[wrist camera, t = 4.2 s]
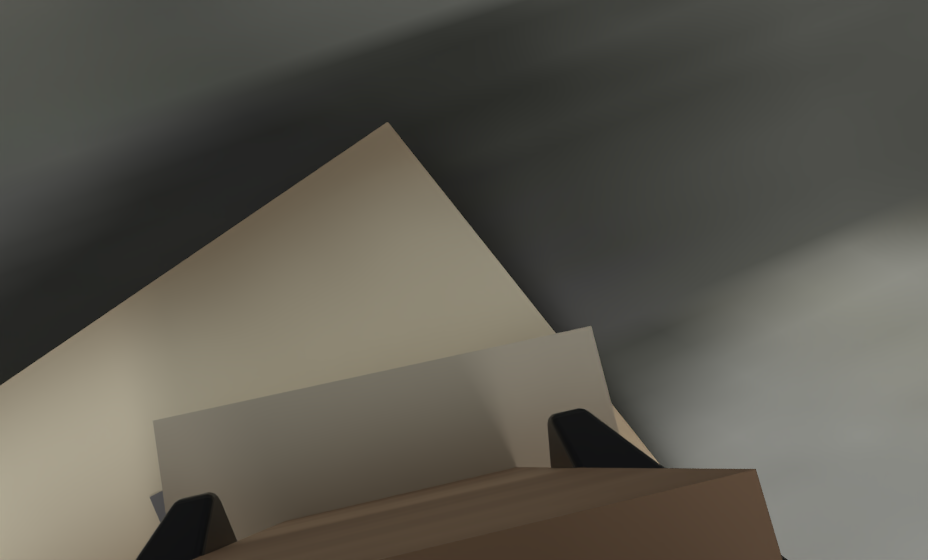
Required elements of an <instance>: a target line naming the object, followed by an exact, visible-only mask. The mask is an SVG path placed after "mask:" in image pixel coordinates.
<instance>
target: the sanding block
mask: <svg viewBox="0 0 928 560" xmlns="http://www.w3.org/2000/svg"><path fill="white" fill-rule="evenodd" d="M577 408H582V409H585V410H587V411H589V412H590V413H592V414H593V415H594V416H596V417H597V418H598V419H600V420H601V421H602V422H604V423H605V424H606V425H608V426H609V427H610V428H612V429H613V430H614V431H616V432H617V433H618V434H619V430H618V427H617V423H616V419H615V415H614V411H613V407H612V404H611V400H610V396H609V392H608V388H607V385H606V381H605V377H604V373H603V369H602V365H601V362H600V358H599V354H598V350H597V346H596V342H595V339H594V335H593V331H592V327H591V326H589V327H584V328H580V329H575V330H570V331H566V332H561V333H556V334H552V335H547V336H543V337H538V338H533V339H529V340H524V341H519V342H515V343H510V344H505V345H501V346H496V347H492V348H487V349H482V350H478V351H473V352H468V353H464V354H459V355H455V356H450V357H445V358H441V359H436V360H431V361H427V362H422V363H418V364H413V365H408V366H404V367H399V368H394V369H390V370H385V371H381V372H376V373H371V374H367V375H362V376H357V377H353V378H348V379H344V380H339V381H334V382H330V383H325V384H320V385H316V386H311V387H307V388H302V389H297V390H293V391H288V392H283V393H279V394H274V395H270V396H265V397H260V398H256V399H251V400H246V401H242V402H237V403H233V404H228V405H223V406H219V407H214V408H209V409H205V410H200V411H196V412H191V413H186V414H182V415H177V416H172V417H168V418H163V419H159V420H154V421H153V426H154V433H155V440H156V447H157V454H158V462H159V469H160V476H161V483H162V490H163V498H164V505H165V512H166V513H167V512H168V511H169V509H170V508H171V506H172V505H173V504H174V503H175V502H176V501H177V500H179V499H181V498H185V497H190V496H194V495H198V494H203V493H207V492H212V493H215V494H216V495H217V496H218V497H219V498H220V500H221V502H222V505H223V507H224V510H225V512H226V515H227V517H228V519H229V522H230V524H231V527H232V529H233V532H234V534H235V537H236V539H237V542H234V543H232V544H230V545H227V546H225V547H222V548H220V549H217V550H215V551H213V552H210V553H208V554H205V555H203V556H200V557H197V558H195V559H193V560H782V557H781V553H780V550H779V546H778V543H777V540H776V536H775V533H774V529H773V526H772V523H771V519H770V516H769V512H768V509H767V506H766V502H765V499H764V495H763V492H762V489H761V485H760V482H759V478H758V475H757V472H756V469H677V468H551V463H550V451H549V439H548V425H547V423H548V418H549V417H550V416H551V415H552V414H555V413H559V412H564V411H568V410H572V409H577Z"/></svg>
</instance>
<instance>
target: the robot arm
mask: <svg viewBox="0 0 928 560" xmlns="http://www.w3.org/2000/svg"><path fill="white" fill-rule="evenodd" d="M547 425H548V439H549V451H550V463H551V468H664V467H663V466H661V465H660V464H659V463H657V462H656V461H655V460H653V459H652V458H650V457H649V456H648V455H646V454H645V453H644V452H642V451H641V450H640V449H638V448H637V447H636V446H634V445H633V444H632V443H630V442H629V441H628V440H626V439H625V438H624V437H622V436H621V435H620V434H618V433H617V432H616V431H614V430H613V429H612V428H610V427H609V426H608V425H606V424H605V423H604V422H602V421H601V420H600V419H598V418H597V417H596V416H594V415H593V414H592V413H590V412H589V411H587V410H585V409H582V408H577V409H572V410H568V411H564V412H559V413H555V414H552V415H551V416H550V417H549V418H548V423H547ZM234 542H237V539H236V537H235V534H234V532H233V529H232V527H231V524H230V522H229V519H228V517H227V515H226V512H225V510H224V507H223V505H222V502H221V500H220V498H219V497H218V496H217V495H216V494H215V493H212V492H207V493H203V494H198V495H194V496H190V497H185V498H181V499H179V500H177V501H176V502H175V503H174V504H173V505H172V506H171V508H170V509H169V511H168V512H167V513H166V515H165V516H164V518H163V519H162V521H161V522H160V524H159V525H158V527H157V528H156V530H155V531H154V533H153V534H152V536H151V537H150V539H149V540H148V542H147V543H146V545H145V546H144V548H143V549H142V551H141V552H140V554H139V555H138V556H137V558H136V559H135V560H193V559H195V558H197V557H200V556H203V555H205V554H208V553H210V552H213V551H215V550H217V549H220V548H222V547H225V546H227V545H230V544H232V543H234ZM781 557H782V560H787V559H786V558H784V557H783V556H782V555H781Z"/></svg>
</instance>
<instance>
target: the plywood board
mask: <svg viewBox="0 0 928 560" xmlns="http://www.w3.org/2000/svg"><path fill="white" fill-rule="evenodd" d="M552 334H556V333H555V332H554V330H553V329H552V328H551V327H550V325H549V324H548V323H547V322H546V320H545V319H544V318H543V317H542V315H541V314H540V313H539V312H538V310H537V309H536V308H535V307H534V305H533V304H532V303H531V302H530V300H529V299H528V298H527V296H526V295H525V294H524V293H523V291H522V290H521V289H520V288H519V286H518V285H517V284H516V283H515V281H514V280H513V279H512V278H511V276H510V275H509V274H508V273H507V271H506V270H505V269H504V268H503V266H502V265H501V264H500V262H499V261H498V260H497V259H496V257H495V256H494V255H493V254H492V252H491V251H490V250H489V249H488V247H487V246H486V245H485V244H484V242H483V241H482V240H481V239H480V237H479V236H478V235H477V234H476V232H475V231H474V230H473V229H472V227H471V226H470V225H469V223H468V222H467V221H466V220H465V218H464V217H463V216H462V215H461V213H460V212H459V211H458V210H457V208H456V207H455V206H454V205H453V203H452V202H451V201H450V200H449V198H448V197H447V196H446V195H445V193H444V192H443V191H442V189H441V188H440V187H439V186H438V184H437V183H436V182H435V181H434V179H433V178H432V177H431V176H430V174H429V173H428V172H427V171H426V169H425V168H424V167H423V166H422V164H421V163H420V162H419V161H418V159H417V158H416V157H415V155H414V154H413V153H412V152H411V150H410V149H409V148H408V147H407V145H406V144H405V143H404V142H403V140H402V139H401V138H400V137H399V135H398V134H397V133H396V132H395V130H394V129H393V128H392V127H391V125H390V124H389V123H388V122H387V123H385V124H384V125H382V126H381V127H379V128H378V129H376V130H375V131H373V132H372V133H370V134H369V135H367V136H366V137H365V138H363V139H362V140H360V141H359V142H357V143H356V144H354V145H353V146H351V147H350V148H348V149H347V150H345V151H344V152H343V153H341V154H340V155H338V156H337V157H335V158H334V159H332V160H331V161H329V162H328V163H326V164H325V165H323V166H322V167H320V168H319V169H318V170H316V171H315V172H313V173H312V174H310V175H309V176H307V177H306V178H304V179H303V180H301V181H300V182H298V183H297V184H296V185H294V186H293V187H291V188H290V189H288V190H287V191H285V192H284V193H282V194H281V195H279V196H278V197H276V198H275V199H273V200H272V201H271V202H269V203H268V204H266V205H265V206H263V207H262V208H260V209H259V210H257V211H256V212H254V213H253V214H251V215H250V216H249V217H247V218H246V219H244V220H243V221H241V222H240V223H238V224H237V225H235V226H234V227H232V228H231V229H229V230H228V231H226V232H225V233H224V234H222V235H221V236H219V237H218V238H216V239H215V240H213V241H212V242H210V243H209V244H207V245H206V246H204V247H203V248H202V249H200V250H199V251H197V252H196V253H194V254H193V255H191V256H190V257H188V258H187V259H185V260H184V261H182V262H181V263H179V264H178V265H177V266H175V267H174V268H172V269H171V270H169V271H168V272H166V273H165V274H163V275H162V276H160V277H159V278H157V279H156V280H155V281H153V282H152V283H150V284H149V285H147V286H146V287H144V288H143V289H141V290H140V291H138V292H137V293H135V294H134V295H132V296H131V297H130V298H128V299H127V300H125V301H124V302H122V303H121V304H119V305H118V306H116V307H115V308H113V309H112V310H110V311H109V312H108V313H106V314H105V315H103V316H102V317H100V318H99V319H97V320H96V321H94V322H93V323H91V324H90V325H88V326H87V327H85V328H84V329H83V330H81V331H80V332H78V333H77V334H75V335H74V336H72V337H71V338H69V339H68V340H66V341H65V342H63V343H62V344H61V345H59V346H58V347H56V348H55V349H53V350H52V351H50V352H49V353H47V354H46V355H44V356H43V357H41V358H40V359H38V360H37V361H36V362H34V363H33V364H31V365H30V366H28V367H27V368H25V369H24V370H22V371H21V372H19V373H18V374H16V375H15V376H13V377H12V378H11V379H9V380H8V381H6V382H5V383H3V384H2V385H0V560H135V559H136V558H137V556H138V555H139V554H140V552H141V551H142V549H143V548H144V546H145V545H146V543H147V542H148V540H149V539H150V537H151V536H152V534H153V533H154V531H155V530H156V528H157V527H158V525H159V524H160V522H161V521H162V519H163V518H164V516H165V515H166V512H165V505H164V498H163V490H162V483H161V476H160V469H159V462H158V454H157V447H156V440H155V433H154V426H153V421H154V420H159V419H163V418H168V417H172V416H177V415H182V414H186V413H191V412H196V411H200V410H205V409H209V408H214V407H219V406H223V405H228V404H233V403H237V402H242V401H246V400H251V399H256V398H260V397H265V396H270V395H274V394H279V393H283V392H288V391H293V390H297V389H302V388H307V387H311V386H316V385H320V384H325V383H330V382H334V381H339V380H344V379H348V378H353V377H357V376H362V375H367V374H371V373H376V372H381V371H385V370H390V369H394V368H399V367H404V366H408V365H413V364H418V363H422V362H427V361H431V360H436V359H441V358H445V357H450V356H455V355H459V354H464V353H468V352H473V351H478V350H482V349H487V348H492V347H496V346H501V345H505V344H510V343H515V342H519V341H524V340H529V339H533V338H538V337H543V336H547V335H552ZM612 407H613V411H614V415H615V419H616V423H617V427H618V430H619V434H620V435H621V436H622V437H624V438H625V439H626V440H628V441H629V442H630V443H632V444H633V445H634V446H636V447H637V448H638V449H640V450H641V451H642V452H644V453H645V454H646V455H648V456H649V457H650V458H652V459H653V460H655V461H656V462H657V463H658V461H657V460H656V459H655V458H654V456H653V455H652V454H651V453H650V451H649V450H648V449H647V448H646V446H645V445H644V444H643V443H642V441H641V440H640V439H639V438H638V436H637V435H636V434H635V432H634V431H633V430H632V429H631V427H630V426H629V425H628V424H627V422H626V421H625V420H624V419H623V417H622V416H621V415H620V414H619V412H618V411H617V410H616V409H615V407H614V406H613V405H612Z"/></svg>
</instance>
